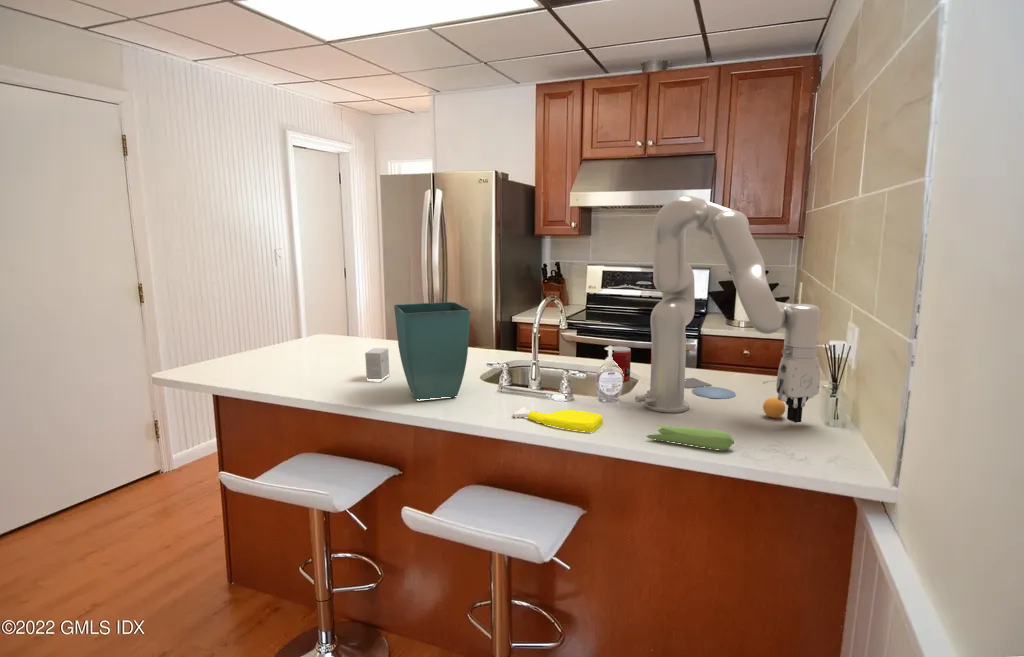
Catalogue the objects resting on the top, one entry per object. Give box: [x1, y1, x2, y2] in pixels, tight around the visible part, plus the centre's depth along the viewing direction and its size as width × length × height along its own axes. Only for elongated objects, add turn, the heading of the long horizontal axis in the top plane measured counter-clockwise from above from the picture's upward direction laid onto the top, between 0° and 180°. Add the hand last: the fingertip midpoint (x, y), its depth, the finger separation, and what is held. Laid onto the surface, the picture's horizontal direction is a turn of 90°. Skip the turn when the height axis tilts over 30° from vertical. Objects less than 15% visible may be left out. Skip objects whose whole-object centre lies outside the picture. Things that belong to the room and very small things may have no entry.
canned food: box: [606, 345, 632, 383], centre depth 191 cm, size 8×8×11 cm
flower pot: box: [393, 301, 471, 400], centre depth 173 cm, size 20×20×28 cm
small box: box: [364, 347, 390, 379], centre depth 194 cm, size 8×6×10 cm
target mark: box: [691, 386, 737, 400], centre depth 175 cm, size 13×13×1 cm
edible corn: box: [645, 424, 735, 451], centre depth 133 cm, size 5×20×5 cm
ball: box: [762, 397, 786, 419], centre depth 151 cm, size 6×6×6 cm
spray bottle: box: [512, 406, 604, 433], centre depth 150 cm, size 3×11×24 cm
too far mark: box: [684, 377, 713, 389], centre depth 186 cm, size 10×10×1 cm
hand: (793, 420), depth 145 cm, fingers closed
